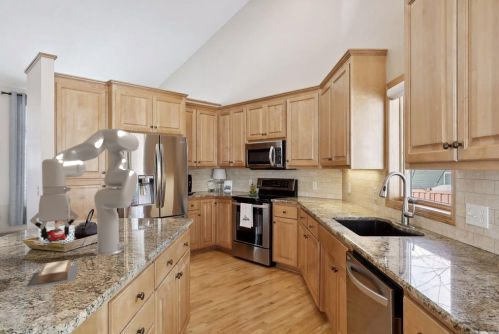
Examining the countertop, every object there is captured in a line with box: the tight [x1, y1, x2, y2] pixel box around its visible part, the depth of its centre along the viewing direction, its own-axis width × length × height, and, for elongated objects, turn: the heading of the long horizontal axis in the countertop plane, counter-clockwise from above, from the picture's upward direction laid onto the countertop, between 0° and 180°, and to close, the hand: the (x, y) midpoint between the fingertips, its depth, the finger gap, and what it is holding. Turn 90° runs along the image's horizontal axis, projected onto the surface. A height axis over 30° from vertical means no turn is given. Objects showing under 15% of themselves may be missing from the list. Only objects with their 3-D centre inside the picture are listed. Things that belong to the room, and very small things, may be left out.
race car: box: [46, 228, 67, 243], centre depth 110 cm, size 13×5×4 cm, turn 41°
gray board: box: [27, 264, 79, 289], centre depth 110 cm, size 14×19×1 cm
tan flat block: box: [37, 259, 72, 285], centre depth 110 cm, size 9×15×3 cm, turn 28°
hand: (55, 237), depth 110 cm, fingers closed on race car, 6 cm apart
